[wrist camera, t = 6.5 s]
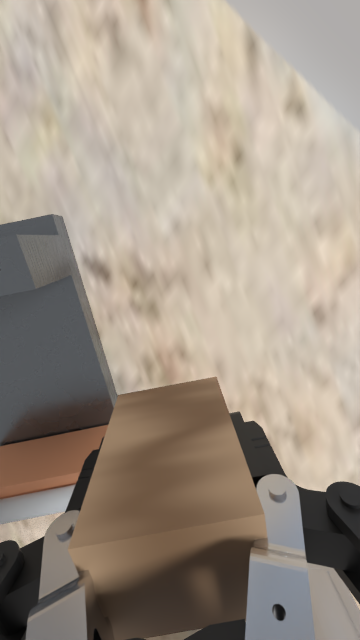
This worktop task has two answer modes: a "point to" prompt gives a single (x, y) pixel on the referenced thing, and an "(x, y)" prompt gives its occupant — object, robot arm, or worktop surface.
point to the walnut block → (169, 514)
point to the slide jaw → (43, 473)
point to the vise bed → (47, 337)
